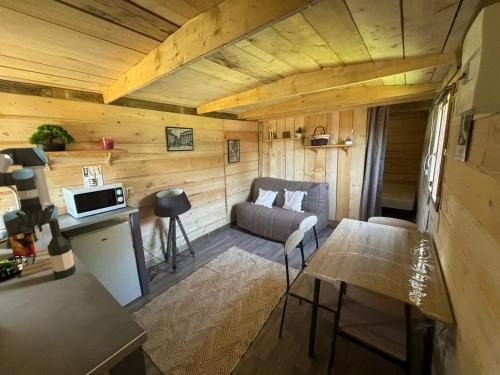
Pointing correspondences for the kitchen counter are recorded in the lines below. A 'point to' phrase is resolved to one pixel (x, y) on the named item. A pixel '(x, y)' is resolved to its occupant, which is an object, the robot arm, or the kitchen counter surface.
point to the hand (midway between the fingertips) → (39, 237)
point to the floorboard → (36, 268)
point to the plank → (42, 256)
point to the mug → (23, 245)
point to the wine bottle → (60, 252)
